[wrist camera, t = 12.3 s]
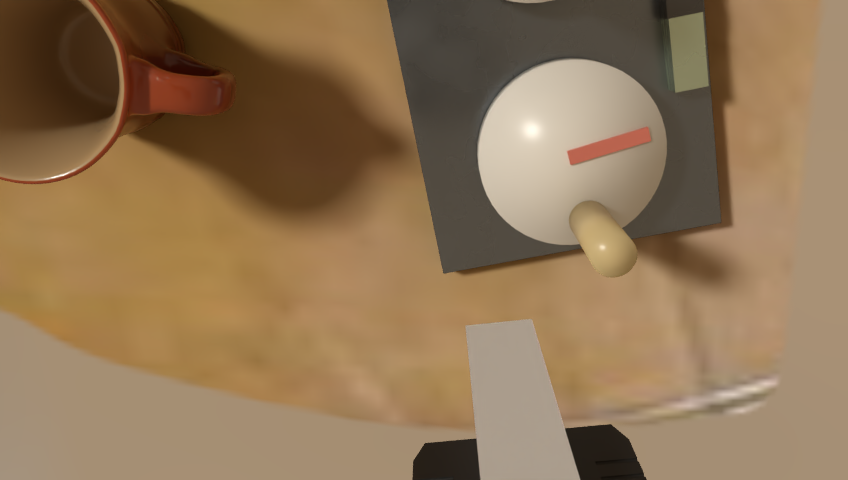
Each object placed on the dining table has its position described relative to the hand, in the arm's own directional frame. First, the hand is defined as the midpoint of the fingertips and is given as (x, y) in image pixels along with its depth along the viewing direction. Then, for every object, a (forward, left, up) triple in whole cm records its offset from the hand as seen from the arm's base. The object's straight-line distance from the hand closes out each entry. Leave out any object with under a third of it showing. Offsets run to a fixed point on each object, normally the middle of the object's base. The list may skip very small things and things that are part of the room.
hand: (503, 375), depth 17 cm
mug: (-8, -15, -24) cm, 29 cm away
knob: (0, +5, -22) cm, 23 cm away
